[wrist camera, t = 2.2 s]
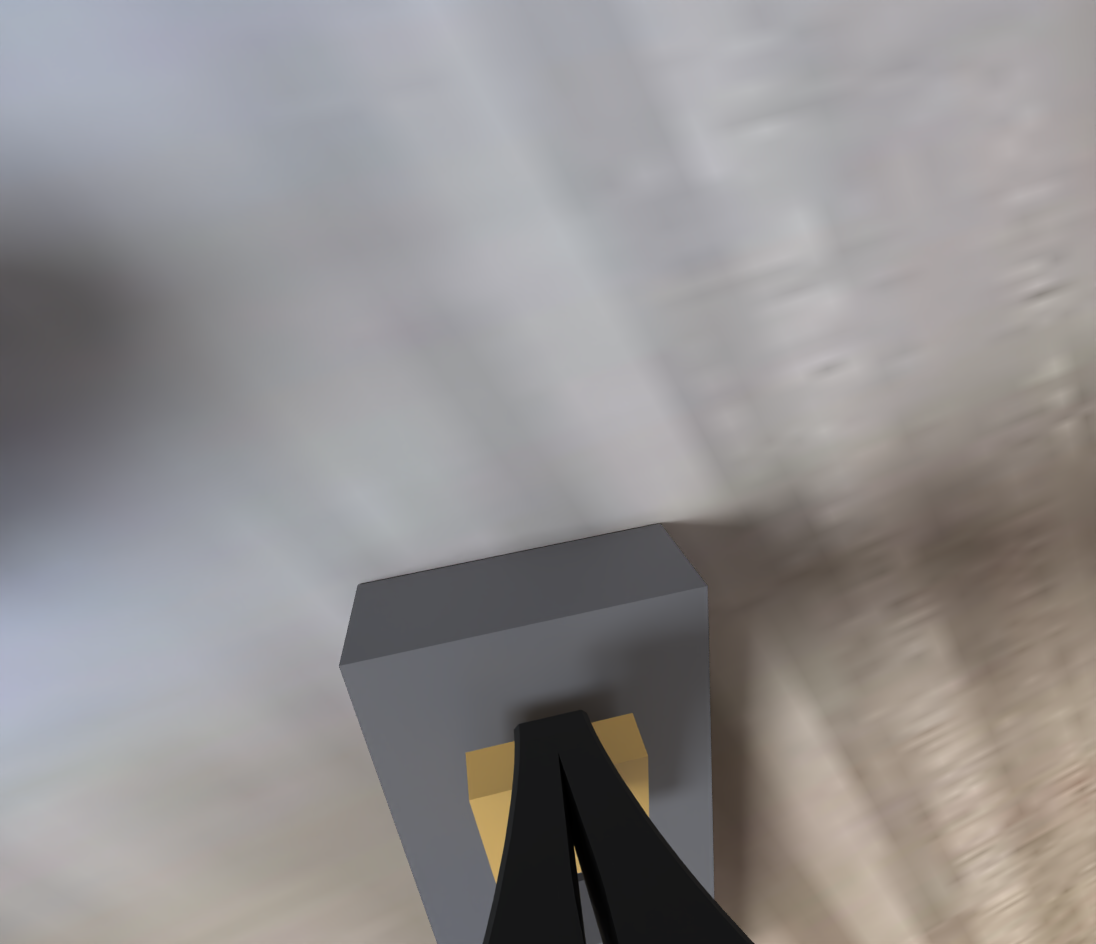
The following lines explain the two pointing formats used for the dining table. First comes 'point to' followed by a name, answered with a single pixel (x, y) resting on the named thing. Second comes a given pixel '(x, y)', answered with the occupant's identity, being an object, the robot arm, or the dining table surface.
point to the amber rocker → (496, 769)
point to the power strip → (530, 693)
